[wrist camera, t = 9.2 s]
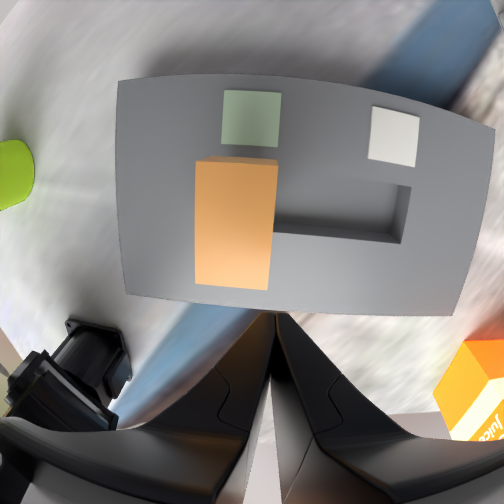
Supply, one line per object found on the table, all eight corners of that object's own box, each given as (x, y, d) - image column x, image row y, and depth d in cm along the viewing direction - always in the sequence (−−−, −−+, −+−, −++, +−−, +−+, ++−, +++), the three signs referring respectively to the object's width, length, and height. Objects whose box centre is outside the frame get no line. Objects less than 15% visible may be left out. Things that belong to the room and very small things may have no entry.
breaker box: (141, 274, 22) (124, 295, 19) (138, 86, 17) (116, 80, 14) (436, 296, 21) (453, 317, 18) (471, 127, 16) (497, 129, 13)
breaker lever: (222, 230, 19) (195, 283, 12) (225, 151, 17) (195, 161, 10) (269, 234, 19) (267, 290, 12) (275, 154, 17) (278, 165, 10)
